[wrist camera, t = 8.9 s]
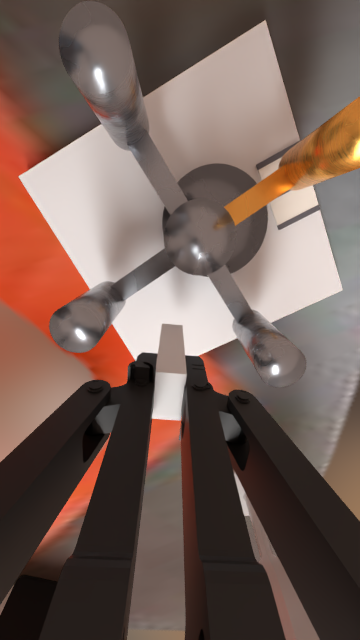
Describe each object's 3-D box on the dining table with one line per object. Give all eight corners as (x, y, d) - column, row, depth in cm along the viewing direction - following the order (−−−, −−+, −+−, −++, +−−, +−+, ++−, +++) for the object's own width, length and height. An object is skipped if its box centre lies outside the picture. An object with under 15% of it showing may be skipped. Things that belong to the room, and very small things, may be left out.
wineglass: (219, 514, 34) (281, 919, 14) (209, 467, 31) (270, 893, 11) (282, 504, 33) (442, 908, 13) (278, 456, 30) (474, 879, 10)
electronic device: (77, 601, 40) (46, 714, 30) (14, 588, 39) (-38, 703, 29) (83, 586, 39) (53, 700, 29) (19, 573, 37) (-34, 688, 28)
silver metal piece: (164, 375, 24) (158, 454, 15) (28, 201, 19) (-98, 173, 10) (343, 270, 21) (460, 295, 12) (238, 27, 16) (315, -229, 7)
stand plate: (29, 180, 20) (16, 175, 18) (258, 37, 17) (266, 16, 16) (148, 370, 26) (146, 380, 24) (332, 286, 23) (344, 290, 22)
